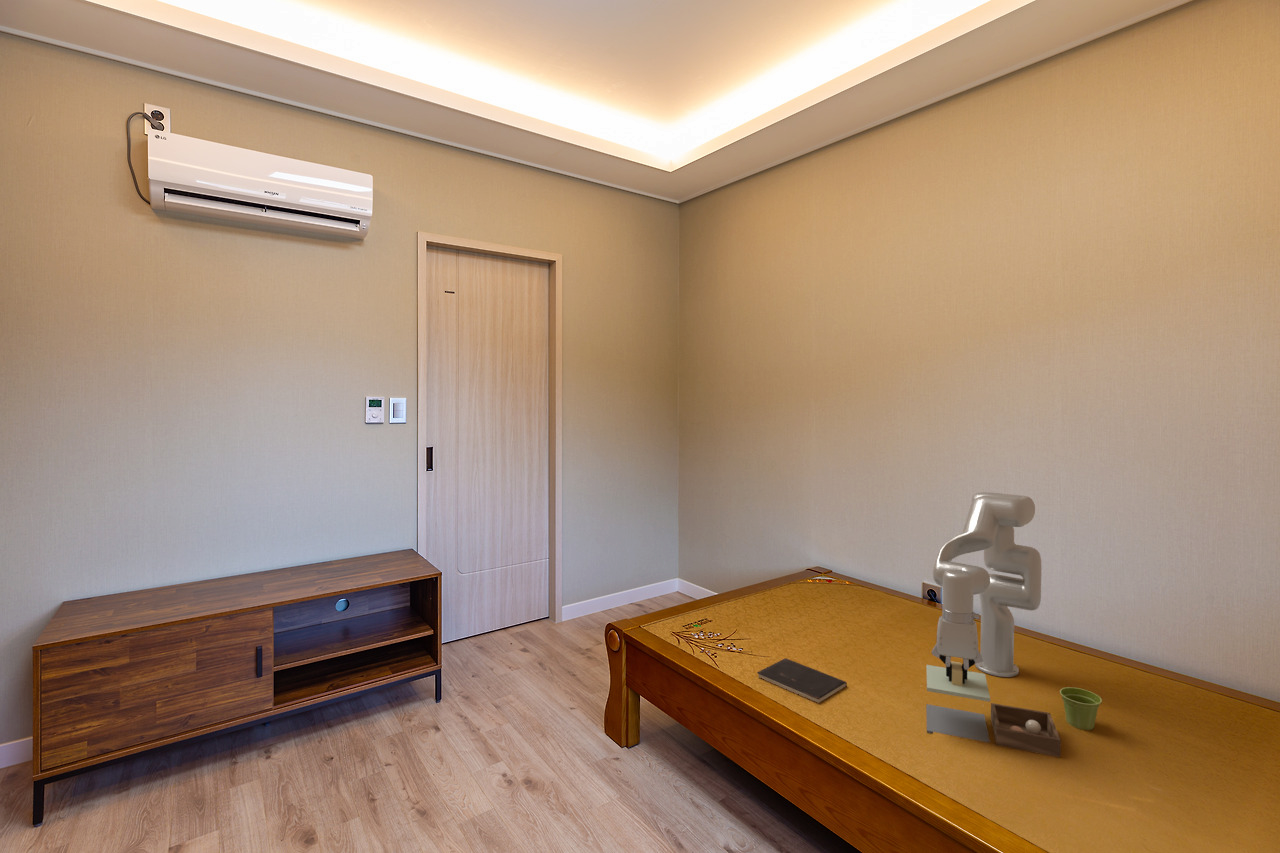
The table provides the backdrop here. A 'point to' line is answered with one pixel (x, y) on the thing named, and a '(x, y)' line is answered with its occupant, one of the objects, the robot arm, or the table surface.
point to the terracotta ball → (1016, 728)
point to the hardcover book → (802, 680)
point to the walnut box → (1015, 716)
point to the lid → (957, 682)
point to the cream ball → (1033, 727)
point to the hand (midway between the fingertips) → (956, 679)
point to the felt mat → (956, 723)
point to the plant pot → (1080, 707)
